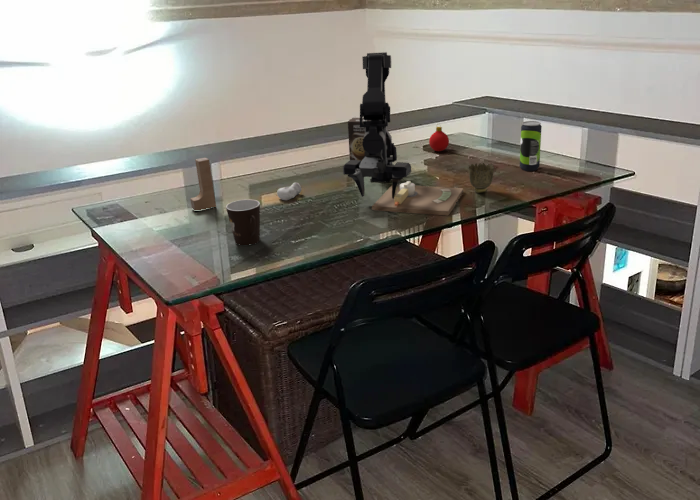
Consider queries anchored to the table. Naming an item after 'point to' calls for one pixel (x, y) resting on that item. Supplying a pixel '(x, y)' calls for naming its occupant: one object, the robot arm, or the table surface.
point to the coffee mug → (245, 221)
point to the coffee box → (356, 139)
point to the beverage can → (530, 145)
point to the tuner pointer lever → (404, 192)
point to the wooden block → (204, 186)
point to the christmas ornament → (439, 140)
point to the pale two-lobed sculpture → (289, 191)
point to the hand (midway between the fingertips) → (378, 197)
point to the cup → (481, 176)
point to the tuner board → (421, 200)
